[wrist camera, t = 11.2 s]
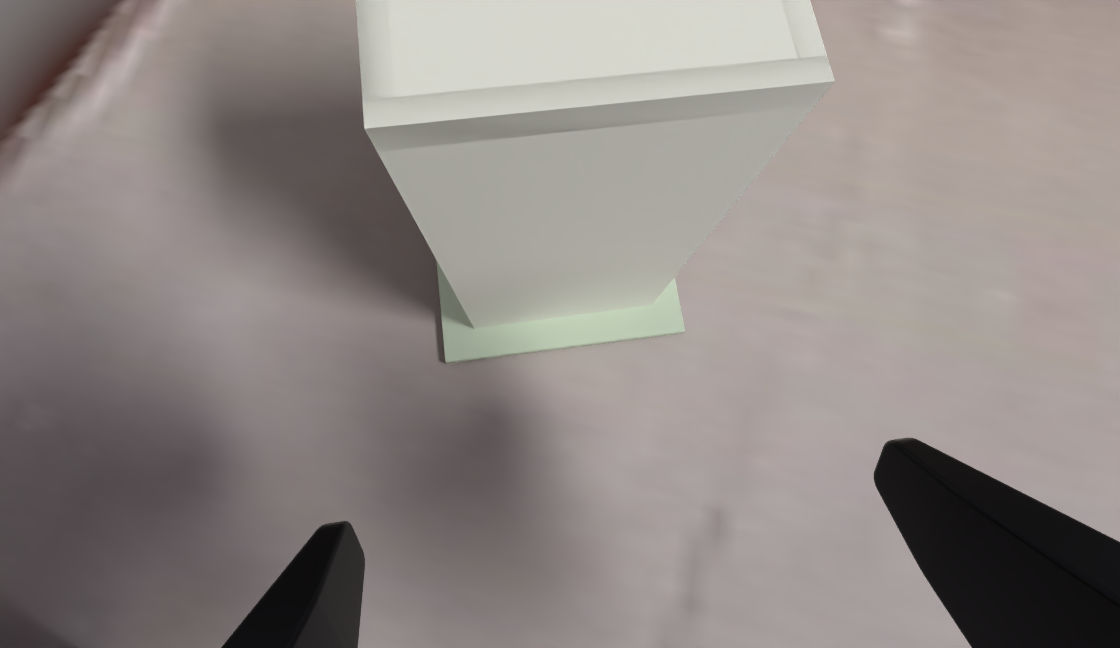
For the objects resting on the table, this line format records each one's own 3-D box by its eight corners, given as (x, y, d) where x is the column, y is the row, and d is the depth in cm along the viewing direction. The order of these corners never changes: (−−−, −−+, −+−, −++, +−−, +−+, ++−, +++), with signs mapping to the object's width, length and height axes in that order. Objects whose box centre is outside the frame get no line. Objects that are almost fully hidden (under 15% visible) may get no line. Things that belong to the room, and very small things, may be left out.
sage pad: (682, 333, 17) (685, 331, 17) (447, 363, 17) (445, 362, 17) (642, 126, 19) (643, 122, 19) (427, 148, 19) (426, 143, 18)
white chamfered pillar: (651, 305, 17) (835, 80, 7) (474, 328, 17) (364, 129, 6) (621, 148, 19) (733, -251, 8) (456, 165, 18) (340, -231, 8)
